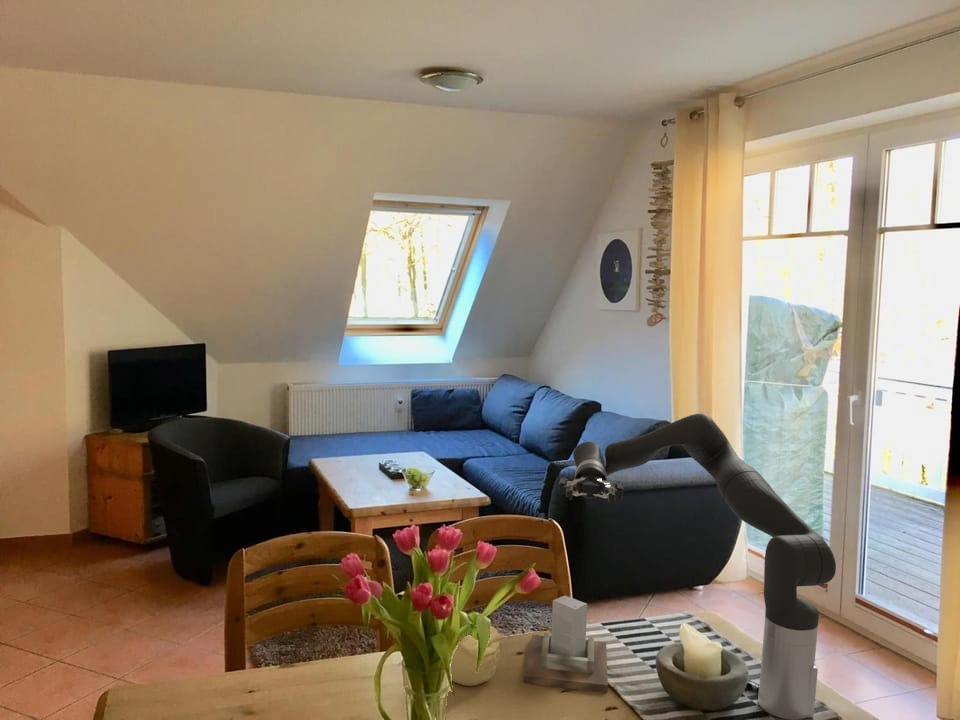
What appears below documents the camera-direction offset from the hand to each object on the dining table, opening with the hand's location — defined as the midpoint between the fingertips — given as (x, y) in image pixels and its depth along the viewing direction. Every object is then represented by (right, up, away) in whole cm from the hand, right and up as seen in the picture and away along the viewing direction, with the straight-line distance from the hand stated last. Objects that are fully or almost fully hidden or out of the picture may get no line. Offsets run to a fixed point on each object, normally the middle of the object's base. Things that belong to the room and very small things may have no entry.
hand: (590, 497), depth 169 cm
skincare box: (-6, -32, -9) cm, 33 cm away
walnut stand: (-6, -33, -9) cm, 35 cm away
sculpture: (-26, -33, -15) cm, 45 cm away
